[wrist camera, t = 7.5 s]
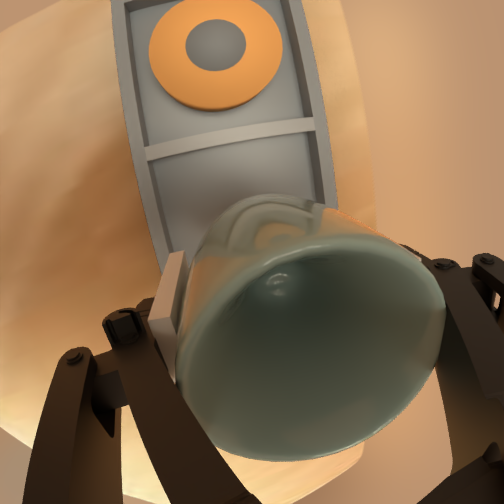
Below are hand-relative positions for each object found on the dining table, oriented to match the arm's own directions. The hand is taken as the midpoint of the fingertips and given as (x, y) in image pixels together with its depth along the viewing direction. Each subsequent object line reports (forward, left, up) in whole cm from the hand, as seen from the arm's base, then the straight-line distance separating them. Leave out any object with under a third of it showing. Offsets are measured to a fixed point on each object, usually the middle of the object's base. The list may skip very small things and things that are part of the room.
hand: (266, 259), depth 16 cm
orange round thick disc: (-10, +8, -9) cm, 16 cm away
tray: (-5, +4, -9) cm, 11 cm away
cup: (0, 0, -1) cm, 1 cm away
